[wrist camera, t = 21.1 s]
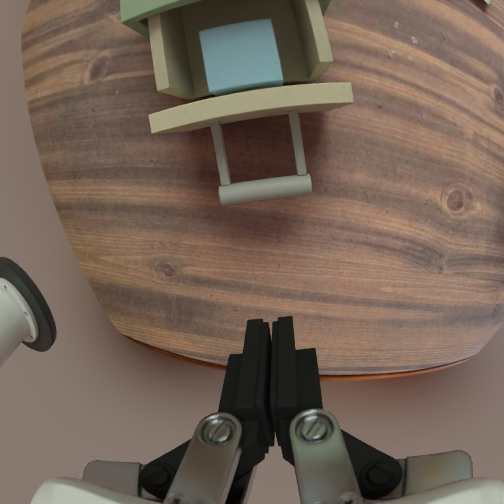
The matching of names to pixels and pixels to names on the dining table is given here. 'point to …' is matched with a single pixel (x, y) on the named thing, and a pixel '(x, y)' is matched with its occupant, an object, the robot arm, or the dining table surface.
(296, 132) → the drawer
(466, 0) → the dining table surface
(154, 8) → the small drawer box
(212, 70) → the soap block
